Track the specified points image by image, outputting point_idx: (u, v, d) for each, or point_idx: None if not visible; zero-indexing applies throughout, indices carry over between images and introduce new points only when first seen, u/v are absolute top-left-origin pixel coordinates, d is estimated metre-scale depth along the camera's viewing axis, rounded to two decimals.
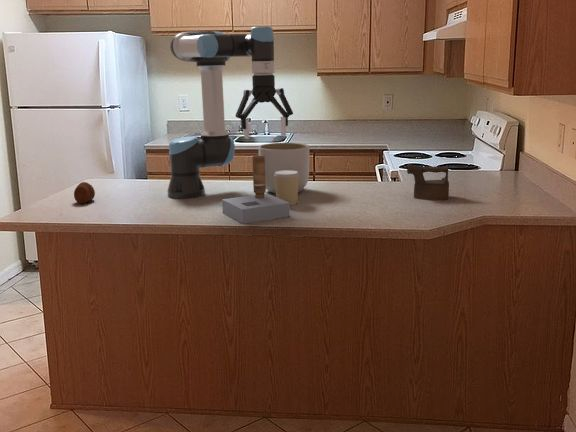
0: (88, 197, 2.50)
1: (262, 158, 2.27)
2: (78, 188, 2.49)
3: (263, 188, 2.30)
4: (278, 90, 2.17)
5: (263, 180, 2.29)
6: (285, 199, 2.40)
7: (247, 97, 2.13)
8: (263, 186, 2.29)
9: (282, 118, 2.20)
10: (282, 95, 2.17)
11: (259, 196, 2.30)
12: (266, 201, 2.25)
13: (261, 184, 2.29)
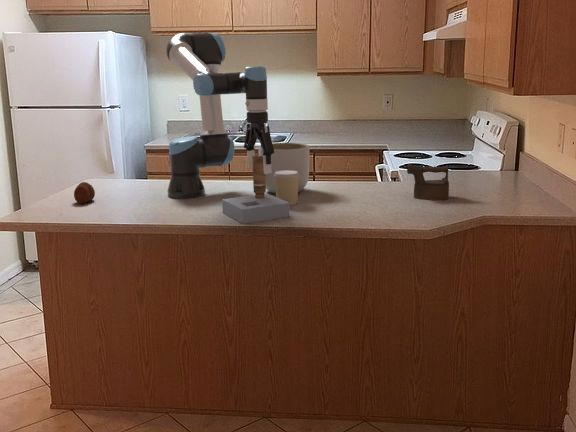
0: (88, 197, 2.50)
1: (262, 158, 2.27)
2: (78, 188, 2.49)
3: (263, 188, 2.30)
4: None
5: (263, 180, 2.29)
6: (285, 199, 2.40)
7: (247, 130, 2.31)
8: (263, 186, 2.29)
9: None
10: (262, 133, 2.20)
11: (259, 196, 2.30)
12: (266, 201, 2.25)
13: (261, 184, 2.29)
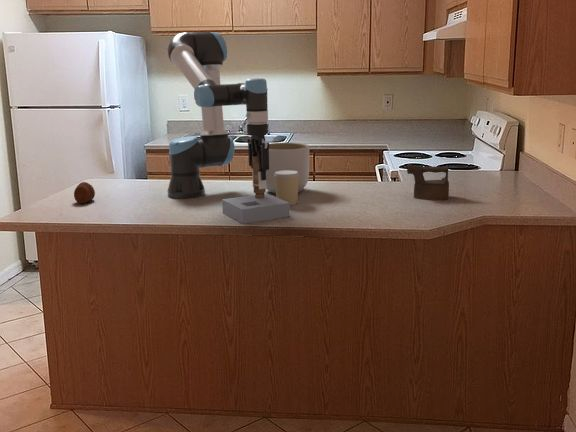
0: (88, 197, 2.50)
1: None
2: (78, 188, 2.49)
3: None
4: None
5: None
6: (285, 199, 2.40)
7: (249, 145, 2.31)
8: None
9: None
10: (261, 149, 2.22)
11: (259, 196, 2.30)
12: (266, 201, 2.25)
13: None
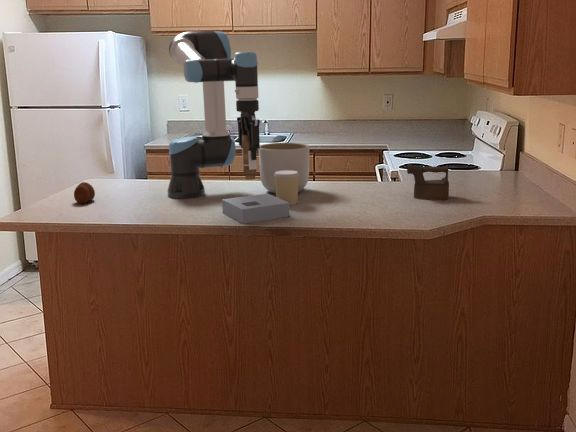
0: (88, 197, 2.50)
1: None
2: (78, 188, 2.49)
3: None
4: (253, 120, 2.10)
5: None
6: (285, 199, 2.40)
7: (238, 124, 2.19)
8: None
9: None
10: (251, 126, 2.10)
11: (249, 177, 2.18)
12: (266, 201, 2.25)
13: None
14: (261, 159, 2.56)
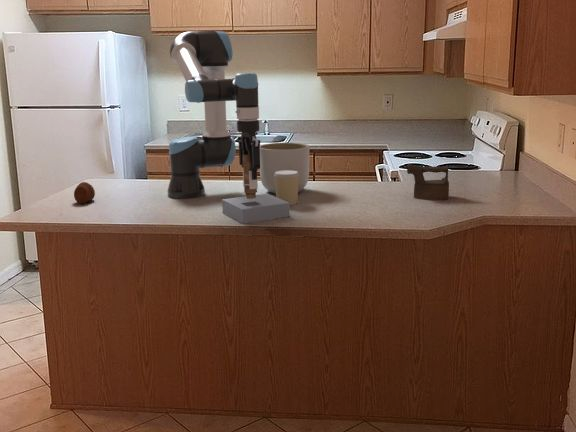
0: (88, 197, 2.50)
1: None
2: (78, 188, 2.49)
3: None
4: None
5: None
6: (285, 199, 2.40)
7: (239, 143, 2.21)
8: None
9: None
10: (252, 147, 2.12)
11: (250, 196, 2.20)
12: (266, 201, 2.25)
13: None
14: (261, 159, 2.56)
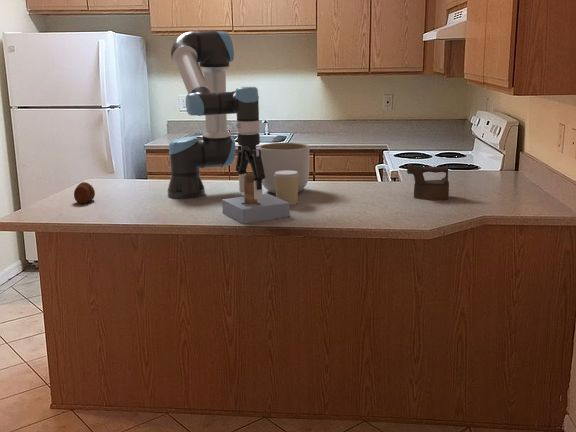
0: (88, 197, 2.50)
1: None
2: (78, 188, 2.49)
3: None
4: None
5: (255, 200, 2.21)
6: (285, 199, 2.40)
7: (238, 153, 2.23)
8: None
9: None
10: (253, 157, 2.12)
11: None
12: (266, 201, 2.25)
13: (253, 204, 2.20)
14: None
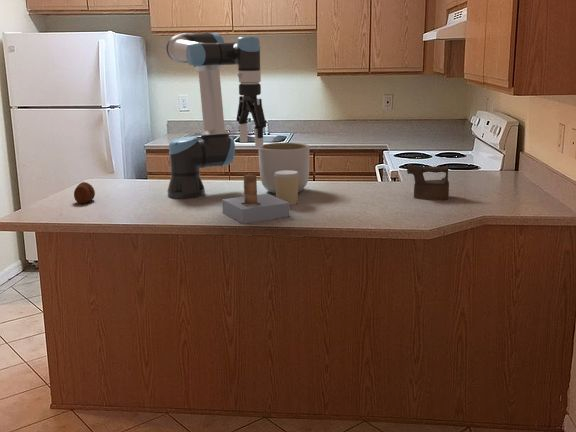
0: (88, 197, 2.50)
1: (253, 177, 2.18)
2: (78, 188, 2.49)
3: None
4: None
5: (255, 200, 2.21)
6: (285, 199, 2.40)
7: (239, 103, 2.25)
8: None
9: None
10: (254, 106, 2.14)
11: None
12: (266, 201, 2.25)
13: (253, 204, 2.20)
14: (261, 159, 2.56)
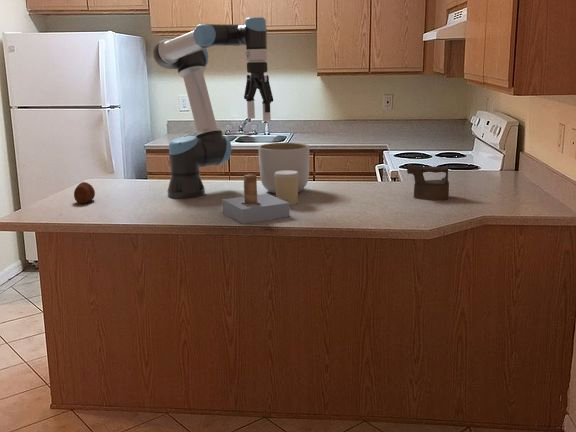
0: (88, 197, 2.50)
1: (254, 177, 2.18)
2: (78, 188, 2.49)
3: None
4: None
5: (255, 200, 2.21)
6: (285, 199, 2.40)
7: (247, 81, 2.39)
8: None
9: None
10: (262, 82, 2.28)
11: None
12: (266, 201, 2.25)
13: (253, 204, 2.20)
14: (261, 159, 2.56)
